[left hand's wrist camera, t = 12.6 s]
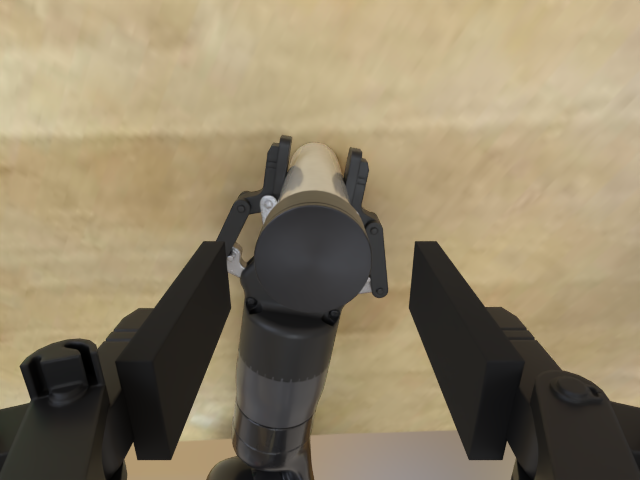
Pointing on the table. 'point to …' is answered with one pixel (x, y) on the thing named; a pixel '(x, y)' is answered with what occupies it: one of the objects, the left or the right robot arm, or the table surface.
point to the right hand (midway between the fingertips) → (320, 144)
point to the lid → (313, 252)
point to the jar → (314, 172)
